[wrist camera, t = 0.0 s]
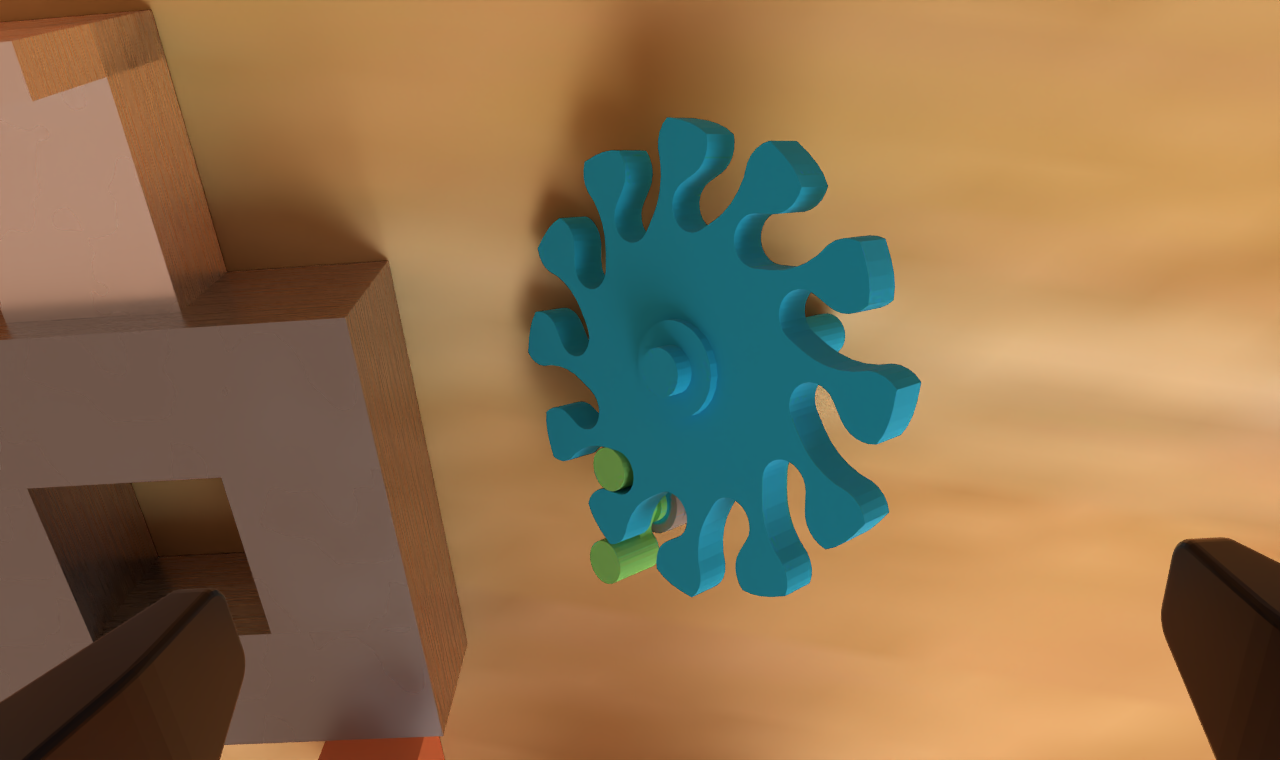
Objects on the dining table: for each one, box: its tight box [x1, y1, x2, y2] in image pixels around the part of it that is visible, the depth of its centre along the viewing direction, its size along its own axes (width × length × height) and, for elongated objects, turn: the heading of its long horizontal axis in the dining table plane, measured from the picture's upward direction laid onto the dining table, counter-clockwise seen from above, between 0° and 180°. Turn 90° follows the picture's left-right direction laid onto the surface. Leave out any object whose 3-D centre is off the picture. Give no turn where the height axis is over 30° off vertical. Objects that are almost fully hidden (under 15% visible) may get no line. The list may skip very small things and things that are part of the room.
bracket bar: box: [0, 10, 227, 323], centre depth 20 cm, size 6×4×5 cm, turn 4°
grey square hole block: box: [0, 261, 467, 745], centre depth 25 cm, size 12×12×4 cm
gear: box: [528, 117, 921, 597], centre depth 22 cm, size 11×6×10 cm
